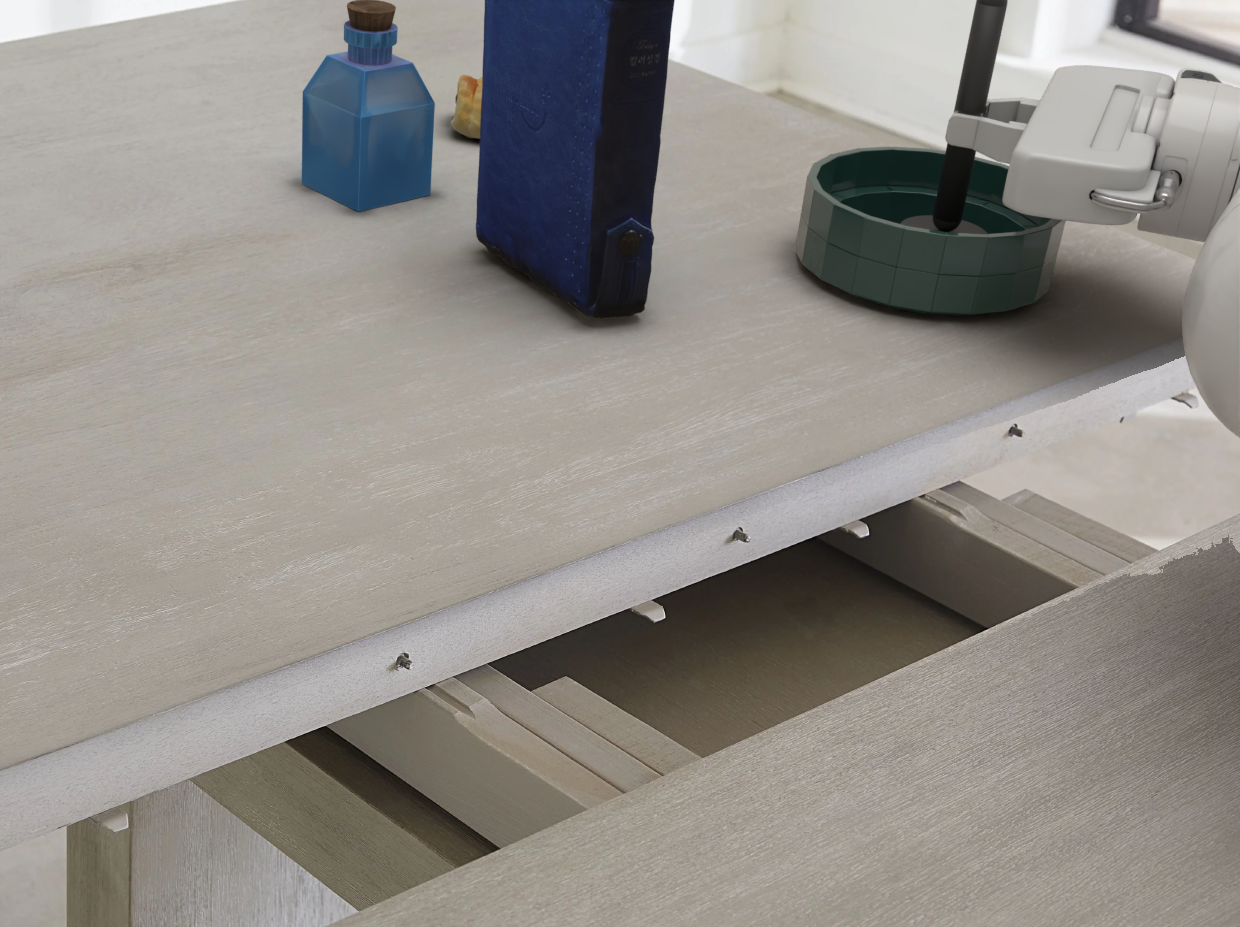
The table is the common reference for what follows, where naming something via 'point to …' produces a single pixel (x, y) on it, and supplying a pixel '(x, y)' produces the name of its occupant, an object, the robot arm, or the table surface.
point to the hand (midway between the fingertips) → (953, 118)
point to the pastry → (468, 107)
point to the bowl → (921, 235)
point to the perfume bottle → (368, 118)
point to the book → (573, 144)
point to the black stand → (970, 99)
